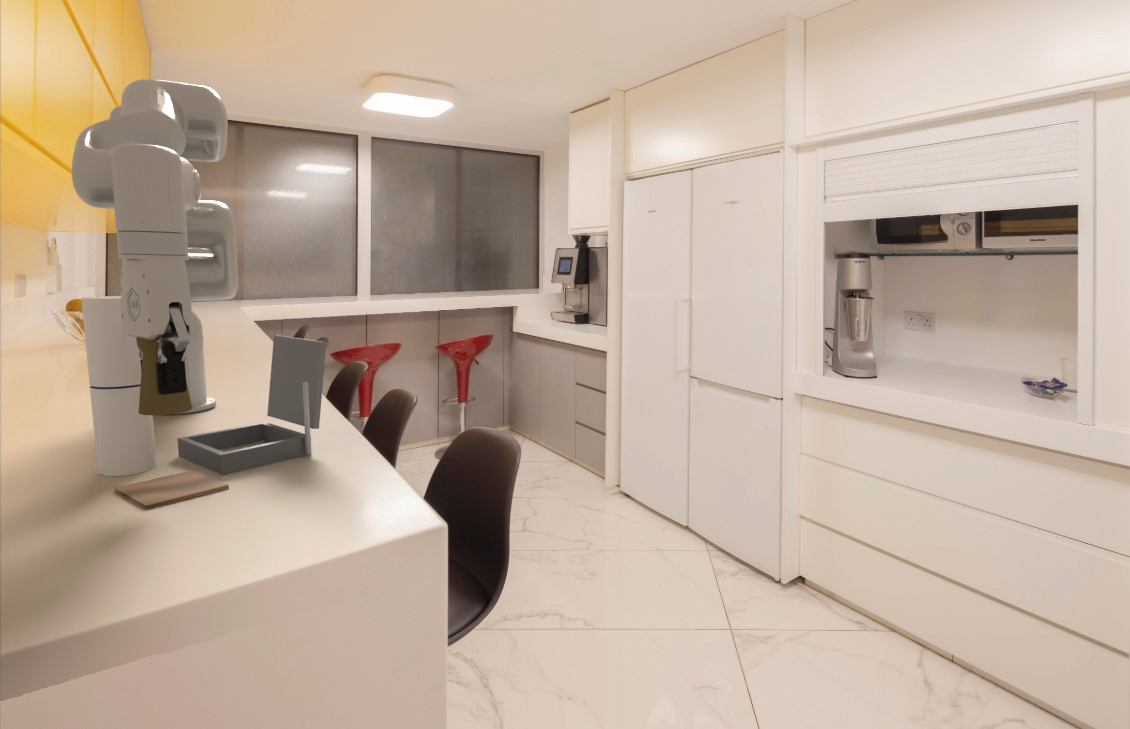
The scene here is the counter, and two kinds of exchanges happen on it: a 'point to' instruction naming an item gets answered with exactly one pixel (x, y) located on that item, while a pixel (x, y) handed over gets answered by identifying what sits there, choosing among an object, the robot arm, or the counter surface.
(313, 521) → the counter surface
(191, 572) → the counter surface
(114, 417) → the cylindrical container
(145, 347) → the cork
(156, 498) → the walnut pad
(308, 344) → the case lid
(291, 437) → the case
